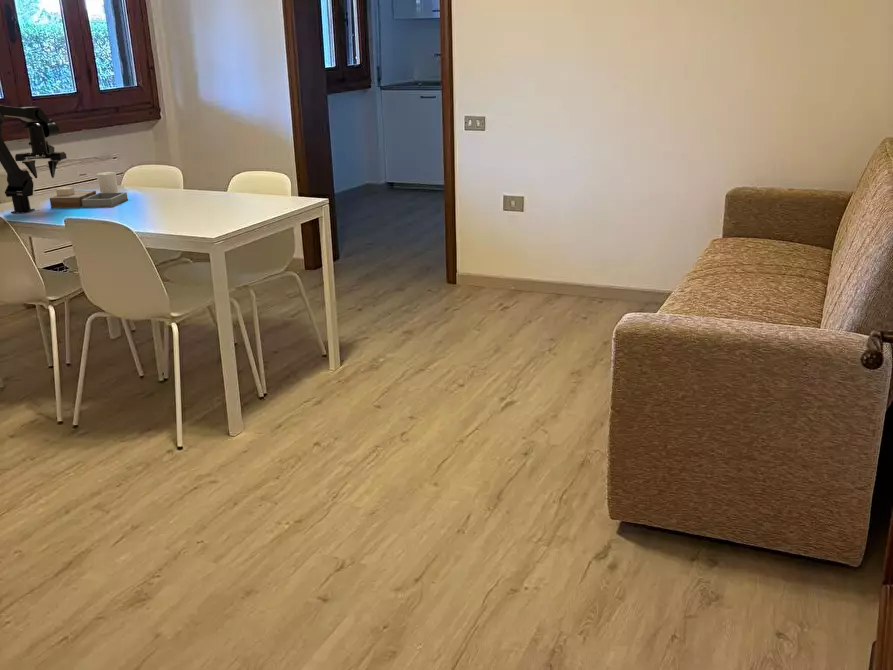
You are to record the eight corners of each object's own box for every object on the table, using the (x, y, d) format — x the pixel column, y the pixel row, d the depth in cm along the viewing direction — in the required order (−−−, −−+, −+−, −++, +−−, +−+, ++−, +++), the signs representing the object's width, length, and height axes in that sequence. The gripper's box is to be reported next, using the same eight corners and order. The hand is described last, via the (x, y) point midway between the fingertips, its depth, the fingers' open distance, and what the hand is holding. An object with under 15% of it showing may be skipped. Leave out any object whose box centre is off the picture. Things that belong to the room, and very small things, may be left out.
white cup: (119, 197, 354) (115, 173, 351) (100, 199, 351) (96, 175, 348) (119, 194, 361) (115, 171, 358) (100, 196, 358) (96, 172, 355)
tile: (69, 195, 338) (68, 189, 337) (57, 195, 338) (55, 189, 337) (74, 193, 343) (73, 187, 342) (62, 193, 343) (61, 187, 342)
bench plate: (80, 207, 334) (78, 197, 332) (51, 207, 334) (49, 198, 333) (97, 200, 349) (95, 190, 347) (69, 200, 349) (67, 191, 348)
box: (112, 206, 333) (111, 199, 332) (82, 207, 334) (81, 199, 333) (127, 199, 348) (126, 192, 347) (99, 200, 349) (98, 192, 348)
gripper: (69, 136, 340) (75, 174, 346) (24, 137, 341) (32, 175, 346) (56, 139, 330) (63, 178, 335) (10, 140, 330) (18, 179, 336)
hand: (44, 177), depth 338 cm, fingers open, 7 cm apart
